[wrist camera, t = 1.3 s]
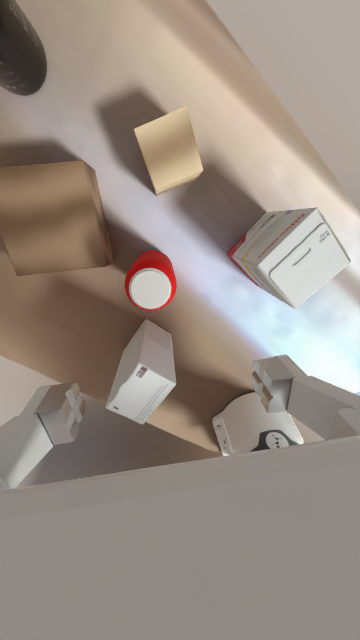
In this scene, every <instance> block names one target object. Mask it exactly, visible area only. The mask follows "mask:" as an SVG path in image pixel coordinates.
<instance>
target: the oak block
mask: <svg viewBox="0 0 360 640" xmlns="http://www.w3.org/2000/svg"><path fill="white" fill-rule="evenodd" d="M134 131H135V135H136V138H137V142H138V145H139V148H140V151H141V154H142V157H143V159H144V162H145V165H146V168H147V171H148V173H149V176H150V179H151V182H152V184H153V187H154V190H155V193H156V196H157V195H160V194H162V193H164V192H167V191H169V190H172V189H174V188H177V187H179V186H181V185H184V184H186V183H189V182H191V181H193V180H196V179H197V177H198V176H199V175H200V174H201V172H202V171H203V167H202V163H201V160H200V156H199V152H198V148H197V144H196V141H195V137H194V133H193V129H192V125H191V122H190V118H189V114H188V110H187V106H185V107H183V108H180V109H178V110H176V111H174V112H171V113H169V114H167V115H164V116H162V117H160V118H158V119H155V120H153V121H151V122H149V123H146V124H144V125H142V126H140V127H137V128H135V129H134Z"/></svg>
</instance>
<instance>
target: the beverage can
mask: <svg viewBox="0 0 360 640" xmlns="http://www.w3.org/2000/svg"><path fill="white" fill-rule="evenodd" d="M125 290H126V294H127V296H128V298H129V299H130V301H131V302H132V303H133V304H134V305H136V306H137V307H139V308H141V309H144V310H158V309H161V308H163V307H165V306H166V305H167V304H168V303H169V302H170V301H171V300H172V299H173V297H174V295H175V292H176V278H175V274H174V270H173V267H172V263H171V261H170V259H169V258H168V257H167V256H166V255H165V254H163V253H162V252H159V251H155V250H151V251H146V252H144V253H142V254H141V255H140V256H139V257H138V258H137V259H136V261H135V262H134V264H133V265H132V267H131V268H130V270H129V271H128V273H127V275H126V278H125Z"/></svg>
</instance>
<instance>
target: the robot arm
mask: <svg viewBox="0 0 360 640" xmlns="http://www.w3.org/2000/svg"><path fill="white" fill-rule="evenodd" d="M253 368H254V370H255V371H254V372H253V373H252V385H253V388H254V390H255V392H254V393H248V394H245V395H242V396H240V397H238V398H236V399H235V400H233V401H232V402H231V403H230V404H228V406H227V407H226V408H225V409H224V410H223V411H222V412H221V413H220V414H218V415H216V416H215V417H214V418H213V419H212V424H213V427H214V430H215V433H216V436H217V439H218V442H219V445H220V448H221V451H222V454H223V456H222V457H216V458H210V459H203V460H197V461H190V462H184V463H177V464H171V465H165V466H158V467H152V468H145V469H139V470H133V471H127V472H120V473H113V474H107V475H101V476H94V477H87V478H81V479H75V480H69V481H62V482H55V483H49V484H43V485H36V486H30V487H24V488H17V489H15V488H16V486H17V485H18V484H19V483H20V482H21V481H22V480H23V479H24V478H25V477H26V475H27V474H28V473H29V472H30V471H31V470H32V469H33V468H34V467H35V466H36V465H37V463H38V462H39V461H40V460H41V459H42V458H43V457H44V456H45V455H46V454H47V453H48V451H49V450H50V449H51V448H52V447H53V445H57V444H63V443H68V442H74V441H75V438H76V435H77V432H78V429H79V425H78V422H80V421H81V419H83V416H84V413H85V401H84V398H83V397H82V396H81V395H80V394H79V391H80V387H79V385H78V384H77V383H68V384H59V385H53V386H52V385H51V386H42V387H40V388H38V390H37V391H36V393H35V394H34V395H33V397H32V398H31V400H30V401H29V403H28V404H27V406H26V407H25V408H24V410H23V411H22V413H21V414H20V415H19V416H16V417H14V418H12V419H11V420H10V421H8V422H7V423H5V424H4V425H2V426H1V427H0V640H360V396H358V395H356V394H353V393H351V392H348V391H346V390H344V389H341V388H339V387H336V386H334V385H332V384H329V383H327V382H325V381H322V380H320V379H317V378H315V377H313V376H307V375H306V374H305V373H304V372H303V371H302V370H301V369H300V368H299V367H298V366H297V365H296V364H295V363H294V362H293V361H292V360H291V359H290V358H289V357H288V356H287V355H280V356H275V357H269V358H261V359H254V361H253ZM291 416H293V417H295V418H296V419H297V420H299V421H300V422H302V423H303V424H304V425H306V426H307V427H308V428H310V429H311V430H313V431H314V432H316V433H317V434H318V435H320V436H321V437H322V438H324V439H325V441H318V442H312V443H305V444H303V438H302V436H301V435H300V433H299V431H298V429H297V428H296V426H295V424H294V422H293V420H292V419H291Z"/></svg>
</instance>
